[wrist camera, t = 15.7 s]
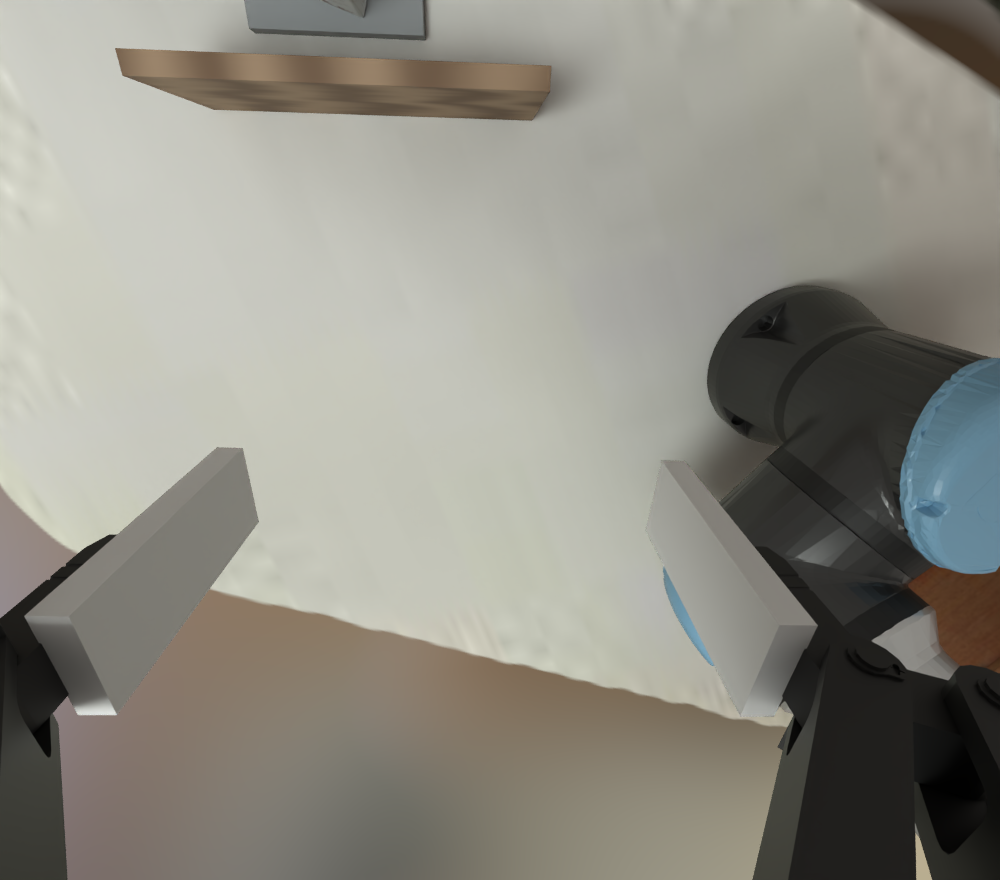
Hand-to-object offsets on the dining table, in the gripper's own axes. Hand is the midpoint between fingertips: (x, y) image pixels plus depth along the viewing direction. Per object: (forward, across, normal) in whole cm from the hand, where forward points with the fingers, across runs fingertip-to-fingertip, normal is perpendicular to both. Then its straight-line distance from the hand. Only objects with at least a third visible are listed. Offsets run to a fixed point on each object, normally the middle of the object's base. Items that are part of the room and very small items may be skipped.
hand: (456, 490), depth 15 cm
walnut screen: (+30, +8, -15) cm, 35 cm away
